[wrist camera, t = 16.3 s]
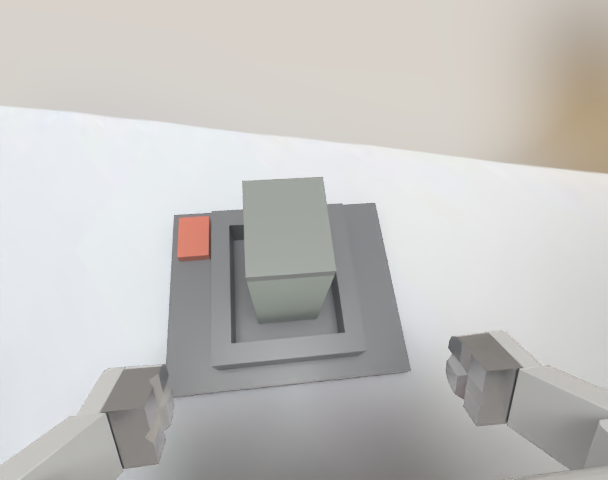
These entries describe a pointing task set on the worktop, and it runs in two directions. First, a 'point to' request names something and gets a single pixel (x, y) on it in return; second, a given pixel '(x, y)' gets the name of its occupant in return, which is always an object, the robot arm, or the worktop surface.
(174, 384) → the socket plate
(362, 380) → the worktop surface
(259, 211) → the plug block
